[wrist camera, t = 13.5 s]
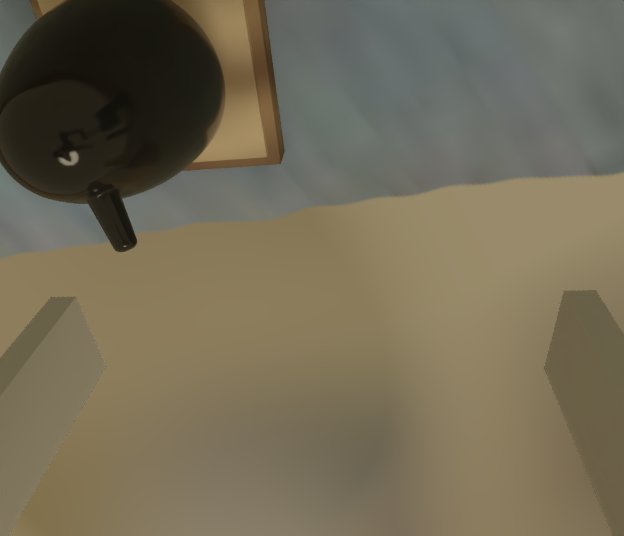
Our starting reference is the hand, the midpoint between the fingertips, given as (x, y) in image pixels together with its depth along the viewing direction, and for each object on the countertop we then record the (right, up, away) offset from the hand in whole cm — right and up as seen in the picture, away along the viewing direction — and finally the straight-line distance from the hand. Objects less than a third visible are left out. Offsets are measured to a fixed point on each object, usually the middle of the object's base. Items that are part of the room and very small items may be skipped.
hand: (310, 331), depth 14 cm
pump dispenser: (-10, +14, +18) cm, 25 cm away
